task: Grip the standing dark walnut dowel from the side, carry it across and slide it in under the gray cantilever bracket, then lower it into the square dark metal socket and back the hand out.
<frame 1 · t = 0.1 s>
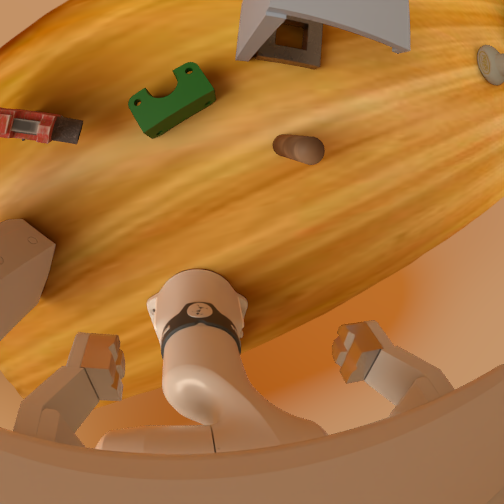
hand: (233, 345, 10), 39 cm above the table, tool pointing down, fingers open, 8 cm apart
gray cantilever bracket: (287, 37, 38), on the table
air freshener: (483, 65, 44), on the table
peg: (283, 145, 46), on the table
electrical switch box: (17, 251, 43), on the table
clamp: (173, 101, 40), on the table
toy gun: (46, 122, 36), on the table
socket: (287, 37, 38), on the table
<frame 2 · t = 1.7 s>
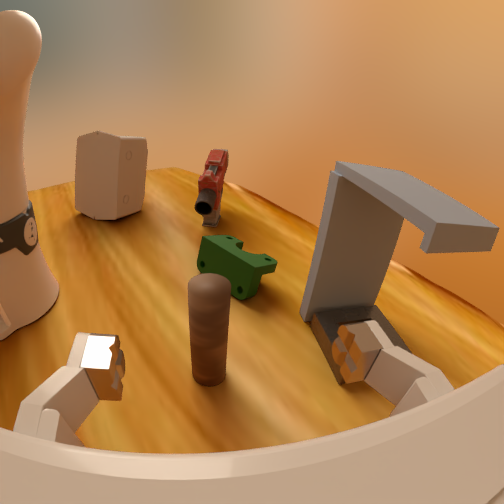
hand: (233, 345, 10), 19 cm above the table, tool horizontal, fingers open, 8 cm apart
gray cantilever bracket: (357, 347, 35), on the table
peg: (208, 373, 30), on the table
electrical switch box: (117, 208, 67), on the table
clamp: (235, 280, 47), on the table
toy gun: (211, 221, 65), on the table
socket: (357, 347, 35), on the table
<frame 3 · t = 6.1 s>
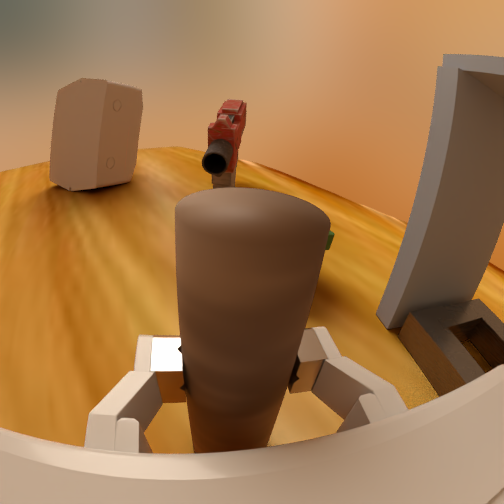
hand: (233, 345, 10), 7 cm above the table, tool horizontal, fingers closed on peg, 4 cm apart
gray cantilever bracket: (468, 365, 17), on the table
peg: (229, 443, 12), on the table, touching gripper
electrical switch box: (101, 180, 51), on the table
toy gun: (223, 193, 48), on the table
socket: (468, 365, 17), on the table
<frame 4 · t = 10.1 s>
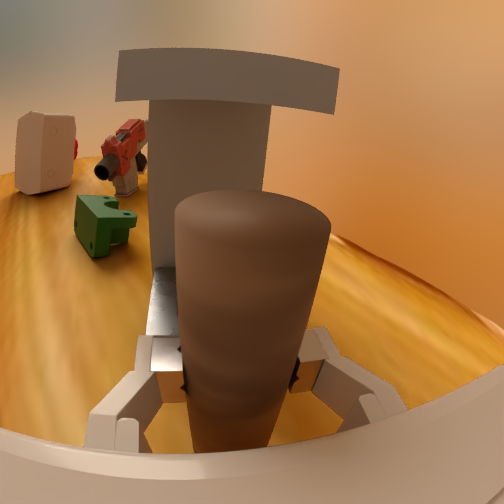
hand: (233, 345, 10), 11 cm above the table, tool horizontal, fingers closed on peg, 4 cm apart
gray cantilever bracket: (205, 317, 27), on the table
peg: (229, 444, 12), point 4 cm above the table, touching gripper
electrical switch box: (51, 186, 61), on the table
clamp: (105, 241, 39), on the table
toy gun: (126, 192, 58), on the table
socket: (205, 317, 27), on the table
when the fingers open (8 cm above the table, at t = 13.9 s): peg drops 1 cm, resting in socket.
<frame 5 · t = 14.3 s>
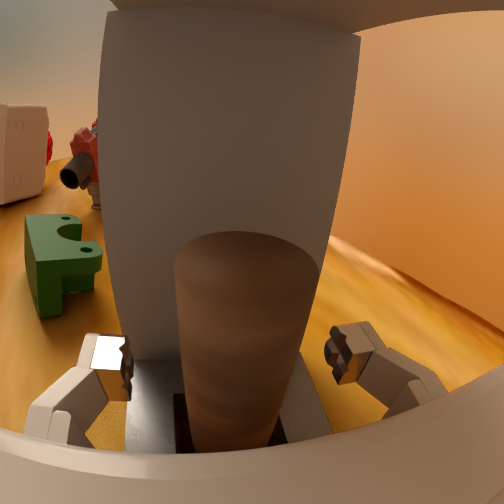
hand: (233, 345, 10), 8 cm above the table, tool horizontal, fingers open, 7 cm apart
gray cantilever bracket: (228, 451, 13), on the table
peg: (228, 453, 13), resting in socket
electrical switch box: (22, 193, 46), on the table
clamp: (64, 285, 24), on the table
toy gun: (107, 203, 43), on the table
socket: (228, 451, 13), on the table
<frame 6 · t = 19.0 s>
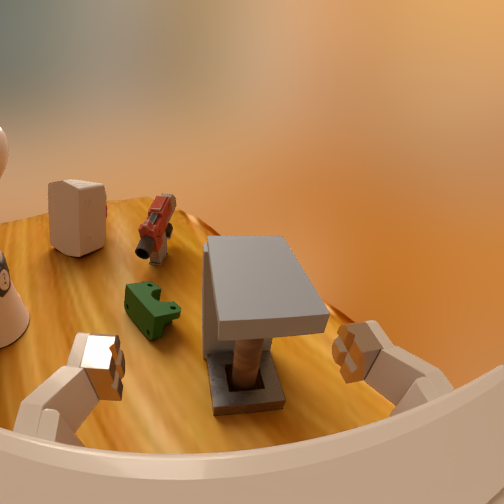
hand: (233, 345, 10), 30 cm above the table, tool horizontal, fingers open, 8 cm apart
gray cantilever bracket: (242, 386, 42), on the table
peg: (242, 386, 42), resting in socket
electrical switch box: (85, 243, 75), on the table
clamp: (153, 321, 53), on the table
toy gun: (158, 259, 72), on the table
socket: (242, 386, 42), on the table
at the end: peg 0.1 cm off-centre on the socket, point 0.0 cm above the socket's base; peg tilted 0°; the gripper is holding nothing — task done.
